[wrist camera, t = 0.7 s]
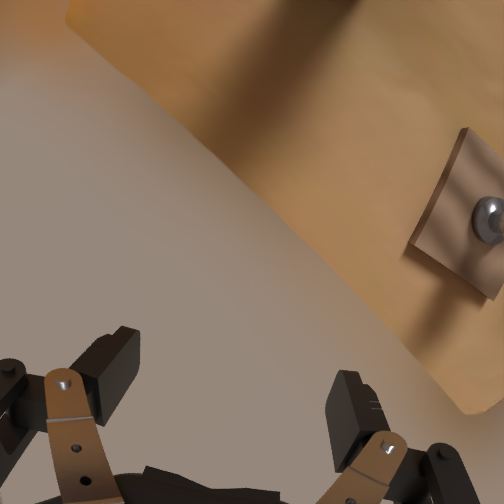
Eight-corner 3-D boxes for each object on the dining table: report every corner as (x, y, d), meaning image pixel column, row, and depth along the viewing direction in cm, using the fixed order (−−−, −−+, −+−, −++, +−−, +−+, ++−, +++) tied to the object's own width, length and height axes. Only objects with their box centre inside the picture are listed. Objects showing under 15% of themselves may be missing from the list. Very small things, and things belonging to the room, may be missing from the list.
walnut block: (461, 128, 34) (468, 127, 33) (532, 198, 35) (540, 199, 34) (408, 242, 39) (414, 245, 37) (486, 296, 40) (493, 301, 38)
